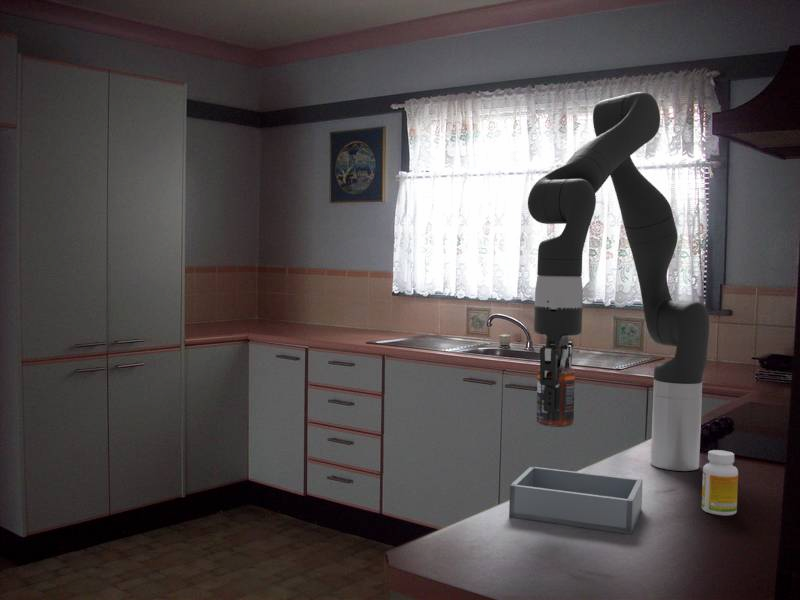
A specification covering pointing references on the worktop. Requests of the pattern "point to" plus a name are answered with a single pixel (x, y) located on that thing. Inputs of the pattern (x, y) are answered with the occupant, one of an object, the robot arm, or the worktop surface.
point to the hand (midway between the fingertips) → (555, 408)
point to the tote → (577, 499)
